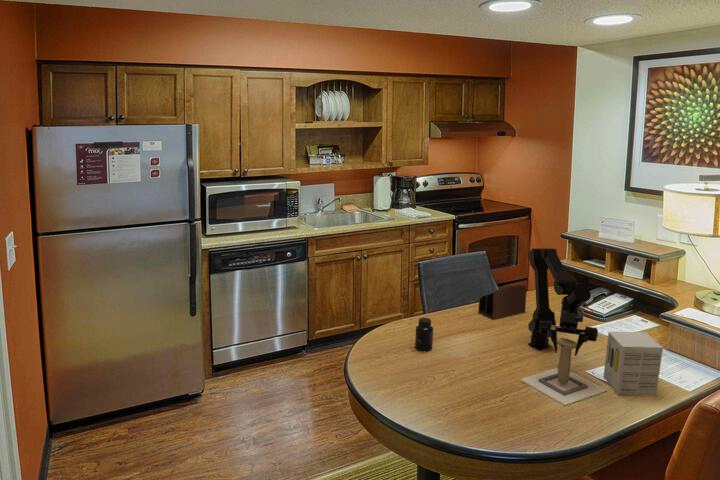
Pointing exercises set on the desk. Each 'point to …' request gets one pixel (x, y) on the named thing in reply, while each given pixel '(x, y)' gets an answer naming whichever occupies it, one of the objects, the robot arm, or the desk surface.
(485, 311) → the letter holder
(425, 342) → the supplement bottle
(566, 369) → the handle
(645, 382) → the supplement box
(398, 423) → the desk surface
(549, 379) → the socket plate
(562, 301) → the robot arm
